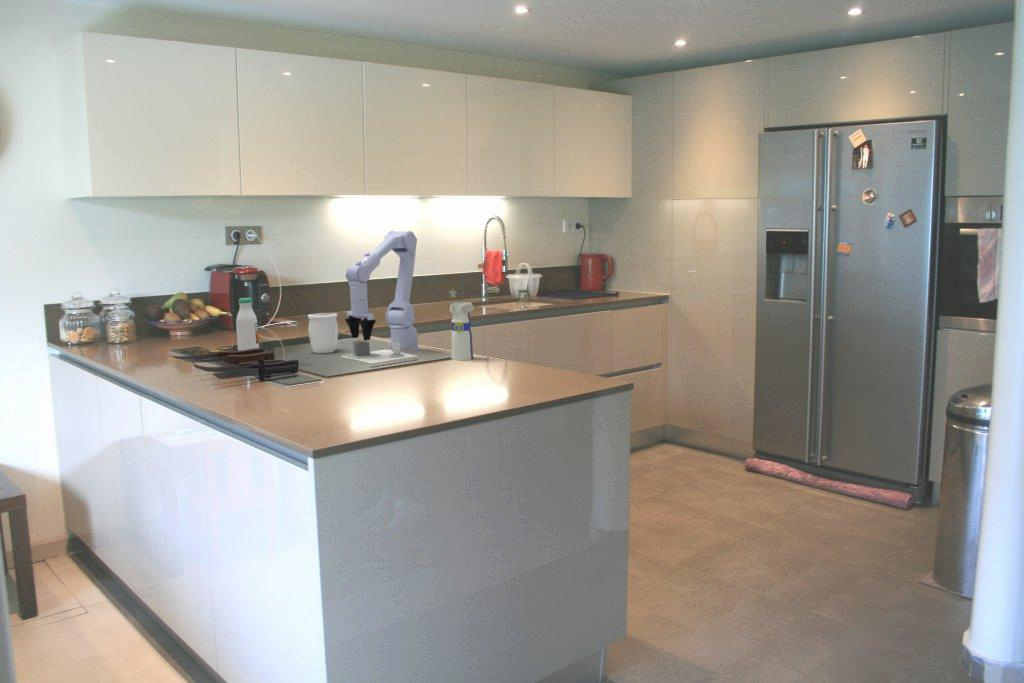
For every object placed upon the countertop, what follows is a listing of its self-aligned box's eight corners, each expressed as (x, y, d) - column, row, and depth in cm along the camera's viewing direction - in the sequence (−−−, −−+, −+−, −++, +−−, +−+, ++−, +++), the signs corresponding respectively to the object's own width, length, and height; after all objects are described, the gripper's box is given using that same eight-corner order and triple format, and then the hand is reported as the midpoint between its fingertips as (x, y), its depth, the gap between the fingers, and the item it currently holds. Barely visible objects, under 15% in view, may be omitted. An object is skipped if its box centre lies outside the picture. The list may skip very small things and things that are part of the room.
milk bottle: (252, 352, 312) (249, 299, 309) (234, 352, 313) (230, 299, 310) (263, 349, 319) (259, 297, 316) (244, 348, 321) (240, 297, 318)
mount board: (386, 353, 304) (385, 337, 303) (418, 360, 290) (417, 343, 289) (340, 360, 292) (340, 343, 291) (371, 367, 277) (370, 349, 276)
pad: (366, 352, 298) (365, 351, 298) (379, 355, 291) (379, 354, 291) (343, 355, 292) (343, 354, 292) (357, 359, 285) (357, 357, 285)
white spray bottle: (471, 360, 286) (469, 288, 282) (447, 360, 288) (445, 288, 284) (477, 356, 294) (475, 286, 290) (454, 356, 296) (452, 286, 292)
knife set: (168, 369, 274) (168, 346, 273) (264, 361, 295) (264, 340, 294) (207, 388, 247) (206, 363, 246) (309, 378, 268) (309, 354, 267)
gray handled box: (353, 354, 293) (352, 339, 292) (366, 353, 294) (365, 338, 294) (356, 356, 289) (356, 341, 288) (369, 355, 290) (369, 340, 290)
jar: (303, 356, 301) (301, 315, 299) (322, 352, 310) (320, 312, 308) (326, 358, 296) (324, 316, 294) (345, 353, 305) (343, 313, 303)
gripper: (338, 299, 291) (340, 338, 293) (360, 302, 280) (362, 342, 283) (355, 297, 296) (357, 335, 298) (378, 300, 285) (380, 339, 287)
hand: (361, 338), depth 291 cm, fingers open, 7 cm apart
